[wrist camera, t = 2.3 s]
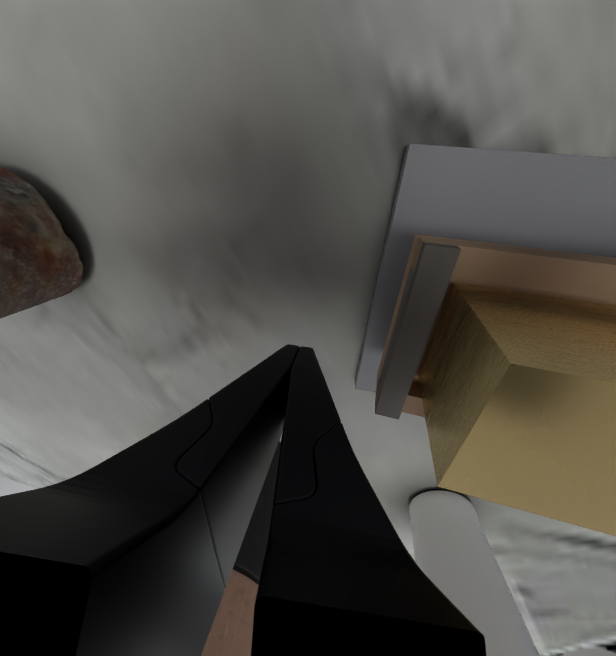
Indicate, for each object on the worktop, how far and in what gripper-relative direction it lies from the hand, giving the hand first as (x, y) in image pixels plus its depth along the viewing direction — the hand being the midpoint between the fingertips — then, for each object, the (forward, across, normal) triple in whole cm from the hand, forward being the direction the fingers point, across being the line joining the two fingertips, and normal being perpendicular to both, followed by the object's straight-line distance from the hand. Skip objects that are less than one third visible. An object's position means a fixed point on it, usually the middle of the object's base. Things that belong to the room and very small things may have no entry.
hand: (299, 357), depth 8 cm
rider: (+3, -8, 0) cm, 8 cm away
